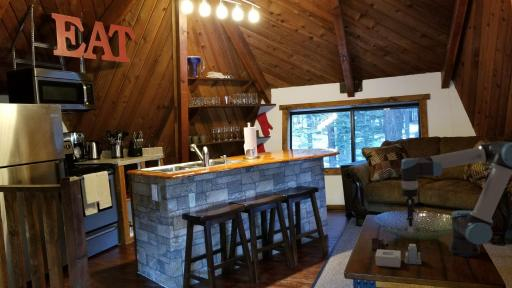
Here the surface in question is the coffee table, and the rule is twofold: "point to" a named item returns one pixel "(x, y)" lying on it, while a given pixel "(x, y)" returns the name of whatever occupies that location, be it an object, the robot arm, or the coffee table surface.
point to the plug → (412, 253)
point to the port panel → (388, 258)
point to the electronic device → (379, 244)
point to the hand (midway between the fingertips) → (411, 228)
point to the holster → (410, 262)
